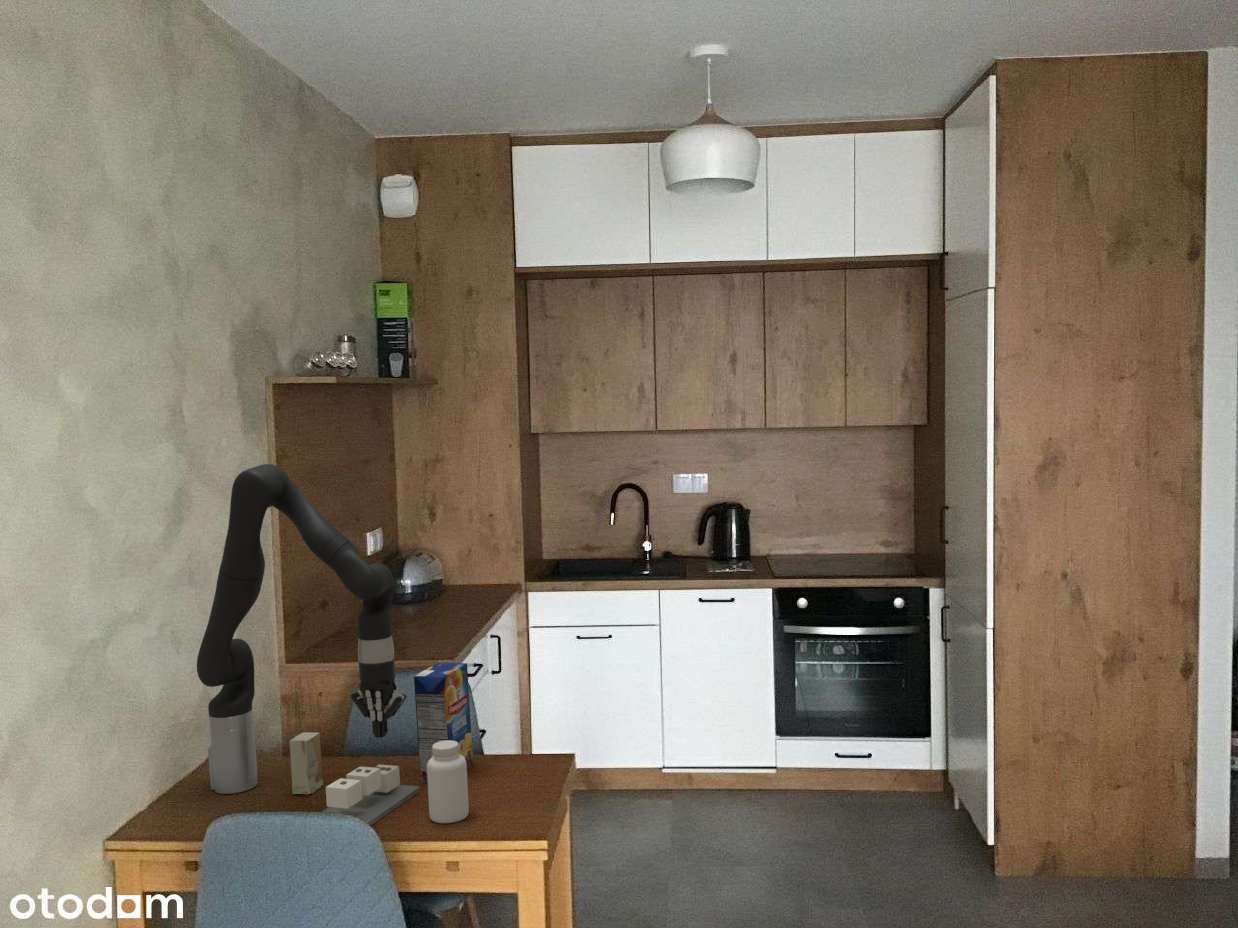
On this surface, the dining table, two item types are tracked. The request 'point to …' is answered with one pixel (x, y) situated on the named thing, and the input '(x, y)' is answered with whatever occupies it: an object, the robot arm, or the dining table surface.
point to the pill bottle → (447, 783)
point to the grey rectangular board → (378, 803)
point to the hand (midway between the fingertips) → (380, 736)
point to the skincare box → (306, 763)
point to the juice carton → (443, 711)
